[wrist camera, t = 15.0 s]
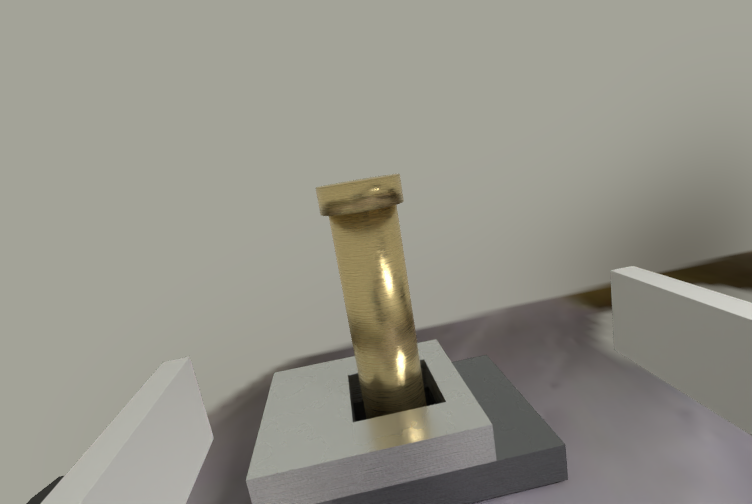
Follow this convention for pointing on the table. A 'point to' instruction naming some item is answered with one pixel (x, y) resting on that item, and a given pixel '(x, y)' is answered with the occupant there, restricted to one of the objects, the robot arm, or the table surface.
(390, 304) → the brass pin
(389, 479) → the square hole block
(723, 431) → the table surface
